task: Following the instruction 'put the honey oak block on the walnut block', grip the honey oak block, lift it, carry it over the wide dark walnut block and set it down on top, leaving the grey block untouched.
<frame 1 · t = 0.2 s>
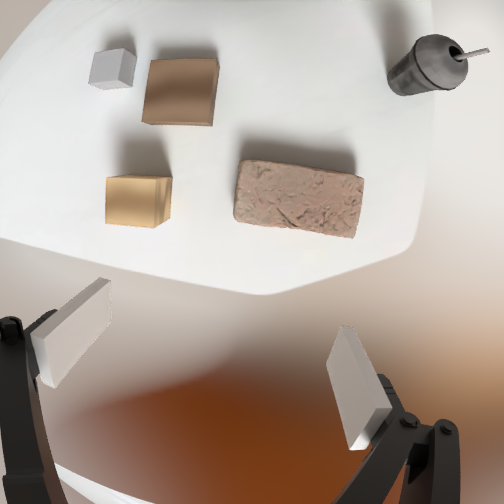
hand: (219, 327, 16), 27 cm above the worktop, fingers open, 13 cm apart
oak block: (148, 196, 41), on the worktop
grey block: (120, 74, 36), on the worktop
brick: (295, 195, 41), on the worktop
beverage cup: (399, 82, 35), on the worktop
walnut block: (185, 95, 37), on the worktop
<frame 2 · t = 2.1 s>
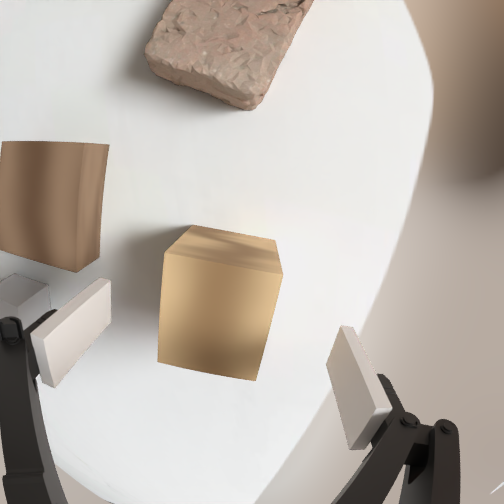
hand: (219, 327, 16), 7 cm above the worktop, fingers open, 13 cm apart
oak block: (225, 277, 22), on the worktop
grey block: (33, 301, 24), on the worktop
brick: (252, 9, 17), on the worktop
walnut block: (61, 195, 21), on the worktop
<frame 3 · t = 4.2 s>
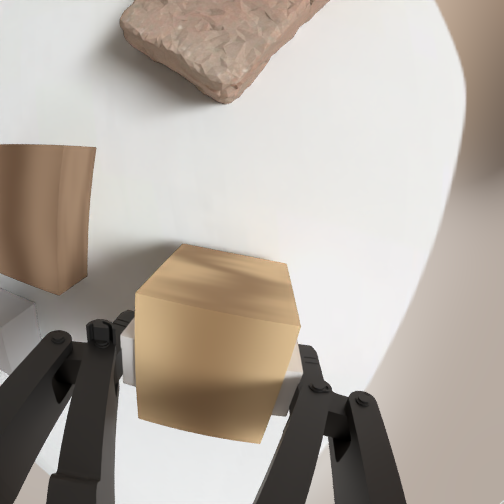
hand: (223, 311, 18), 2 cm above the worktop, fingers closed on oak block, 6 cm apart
oak block: (224, 308, 18), point 1 cm above the worktop, touching gripper
grey block: (21, 318, 21), on the worktop
walnut block: (45, 205, 18), on the worktop
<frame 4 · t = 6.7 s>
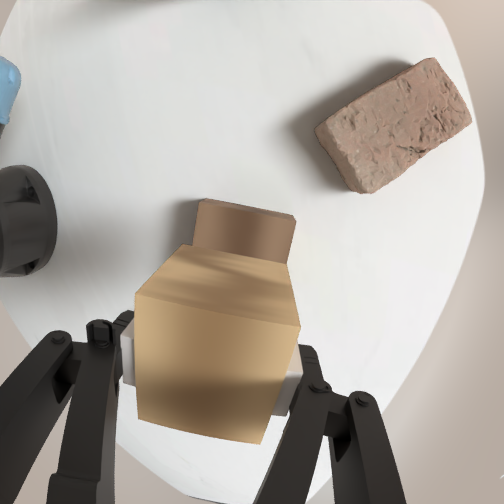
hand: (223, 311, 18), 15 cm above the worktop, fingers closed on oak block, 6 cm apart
oak block: (224, 308, 18), point 14 cm above the worktop, touching gripper
brick: (389, 124, 28), on the worktop
walnut block: (241, 247, 32), on the worktop
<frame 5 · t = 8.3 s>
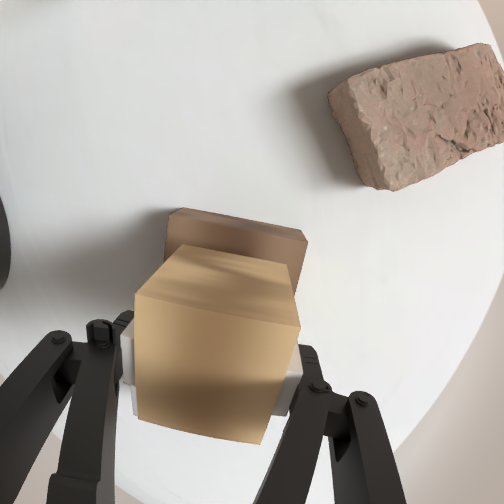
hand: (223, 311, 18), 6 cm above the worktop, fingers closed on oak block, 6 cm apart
oak block: (224, 308, 18), point 6 cm above the worktop, touching gripper
brick: (424, 112, 20), on the worktop
walnut block: (231, 272, 24), on the worktop
when the fingers open (5 cm above the worktop, at t = 9.2 s): oak block drops 1 cm, resting on walnut block.
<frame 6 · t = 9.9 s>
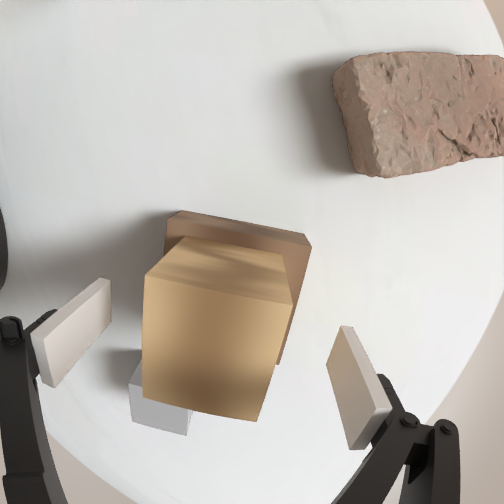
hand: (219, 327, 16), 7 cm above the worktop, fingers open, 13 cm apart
oak block: (224, 296, 19), point 4 cm above the worktop, touching walnut block
grey block: (172, 375, 26), on the worktop
brick: (430, 112, 19), on the worktop
walnut block: (232, 277, 23), on the worktop, touching oak block
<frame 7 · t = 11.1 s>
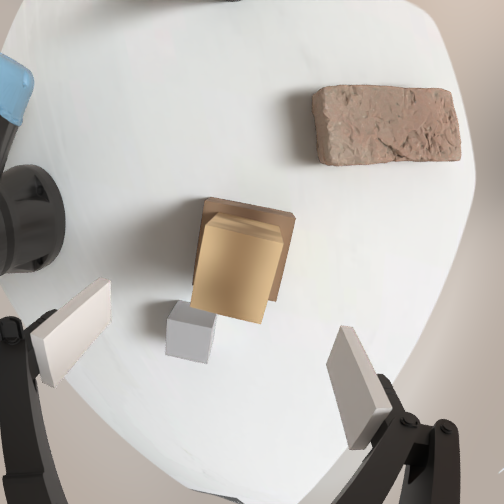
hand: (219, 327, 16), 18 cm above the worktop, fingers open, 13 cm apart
oak block: (240, 252, 30), point 4 cm above the worktop
grey block: (196, 321, 37), on the worktop
brick: (382, 127, 30), on the worktop
walnut block: (244, 243, 34), on the worktop
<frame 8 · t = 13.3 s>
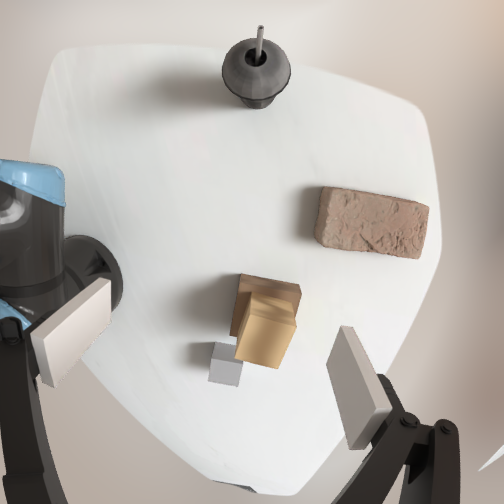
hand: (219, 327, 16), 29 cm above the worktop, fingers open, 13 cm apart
oak block: (264, 317, 43), point 4 cm above the worktop, touching walnut block
grey block: (228, 355, 50), on the worktop
brick: (368, 220, 43), on the worktop
beverage cup: (257, 94, 38), on the worktop
walnut block: (264, 304, 47), on the worktop, touching oak block
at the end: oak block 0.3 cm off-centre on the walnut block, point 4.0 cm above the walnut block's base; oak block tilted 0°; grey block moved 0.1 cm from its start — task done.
